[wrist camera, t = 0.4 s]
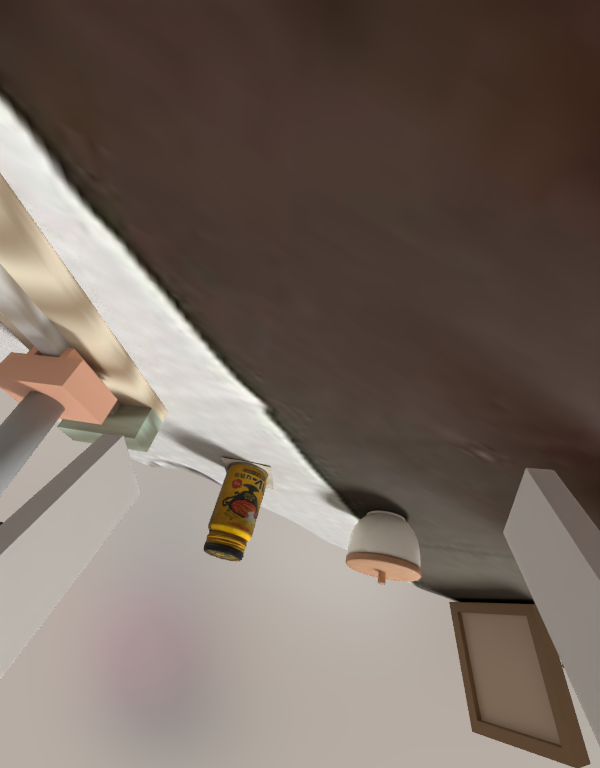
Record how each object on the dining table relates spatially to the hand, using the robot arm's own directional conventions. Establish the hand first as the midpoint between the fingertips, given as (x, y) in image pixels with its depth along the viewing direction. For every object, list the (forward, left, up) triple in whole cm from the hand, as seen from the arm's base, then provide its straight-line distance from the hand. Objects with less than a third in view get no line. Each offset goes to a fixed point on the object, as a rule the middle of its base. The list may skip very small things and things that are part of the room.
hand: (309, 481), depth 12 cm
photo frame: (+94, +38, -15) cm, 103 cm away
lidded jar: (+46, +5, -15) cm, 49 cm away
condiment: (+37, -16, -15) cm, 43 cm away
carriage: (+12, -28, -13) cm, 33 cm away
